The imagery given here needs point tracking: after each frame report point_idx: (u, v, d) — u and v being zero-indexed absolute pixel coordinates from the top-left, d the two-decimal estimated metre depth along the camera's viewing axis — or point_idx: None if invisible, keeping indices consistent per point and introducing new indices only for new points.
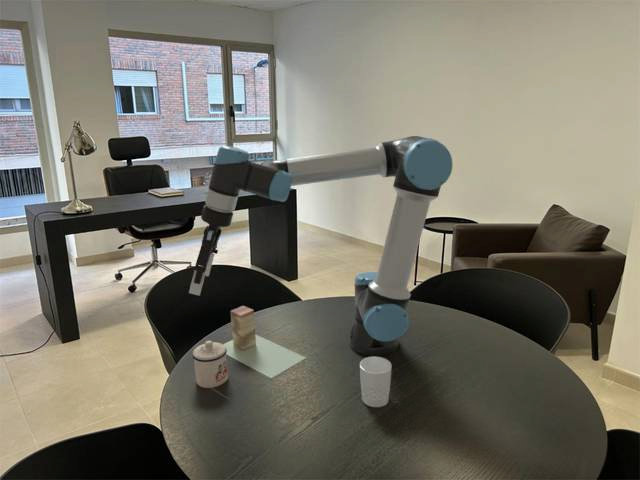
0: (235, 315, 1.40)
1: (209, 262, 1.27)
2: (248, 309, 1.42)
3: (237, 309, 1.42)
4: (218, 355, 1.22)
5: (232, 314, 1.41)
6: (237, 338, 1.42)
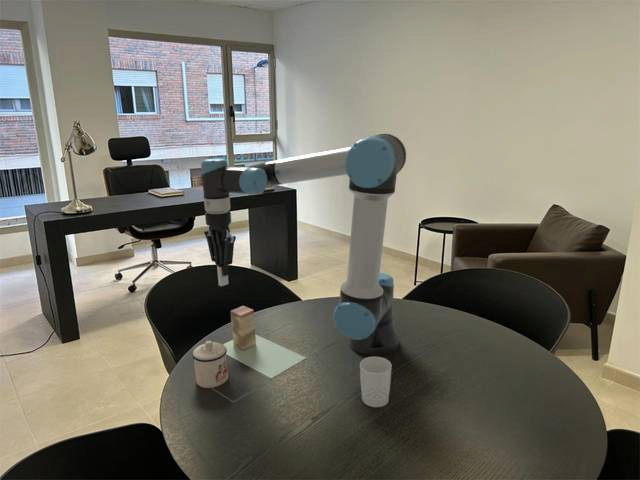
0: (235, 315, 1.40)
1: None
2: (248, 309, 1.42)
3: (237, 309, 1.42)
4: (218, 355, 1.22)
5: (232, 314, 1.41)
6: (237, 338, 1.42)
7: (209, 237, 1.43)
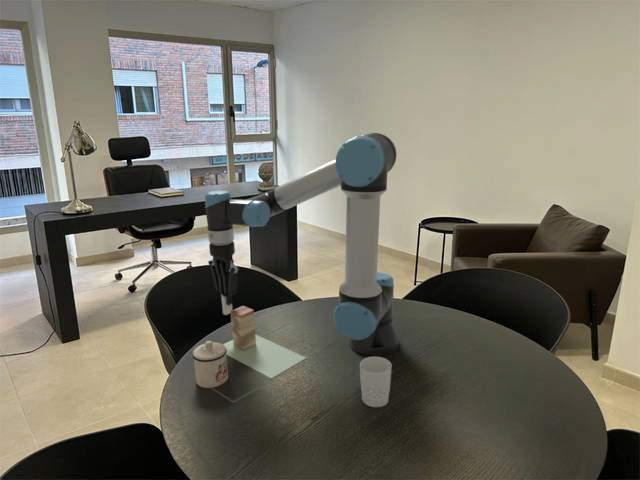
0: (235, 315, 1.40)
1: None
2: (248, 309, 1.42)
3: (237, 309, 1.42)
4: (218, 355, 1.22)
5: (232, 314, 1.41)
6: (237, 338, 1.42)
7: (213, 267, 1.45)
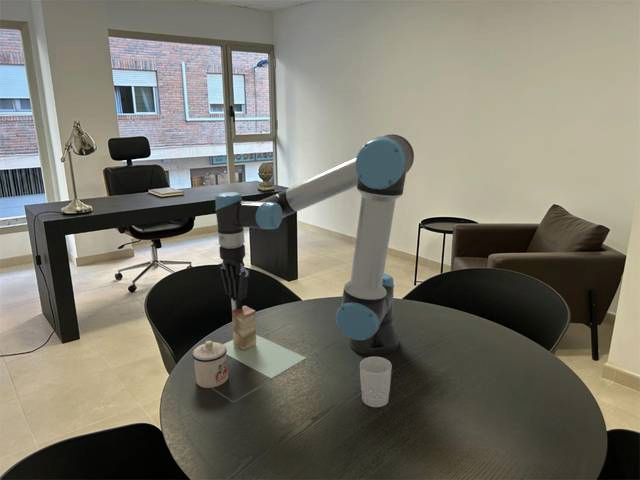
0: (236, 315, 1.40)
1: None
2: (250, 310, 1.41)
3: (239, 309, 1.42)
4: (218, 355, 1.22)
5: (234, 314, 1.40)
6: (237, 338, 1.42)
7: (223, 270, 1.42)
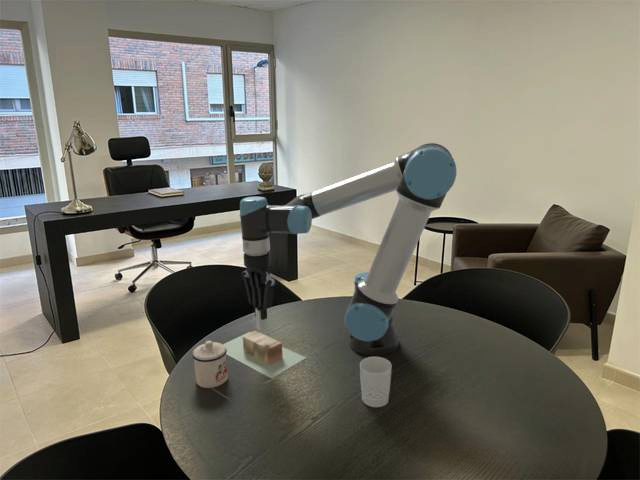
0: (267, 355, 1.33)
1: None
2: (280, 354, 1.36)
3: (275, 348, 1.34)
4: (218, 355, 1.22)
5: (267, 351, 1.33)
6: (250, 346, 1.38)
7: (246, 278, 1.35)
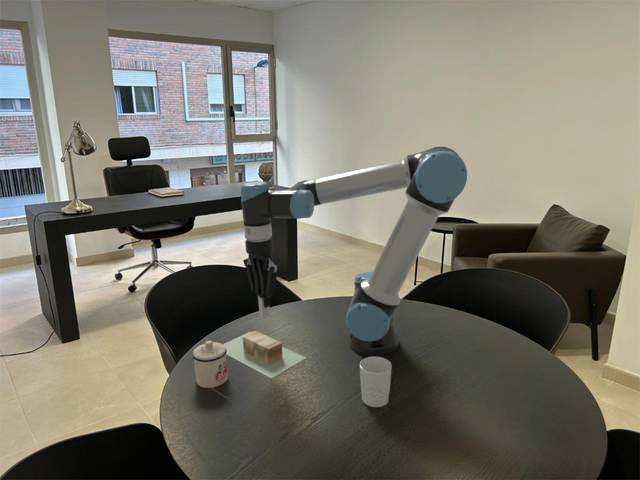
0: (267, 355, 1.33)
1: None
2: (280, 354, 1.36)
3: (275, 348, 1.34)
4: (218, 355, 1.22)
5: (267, 351, 1.33)
6: (250, 346, 1.38)
7: (249, 266, 1.33)
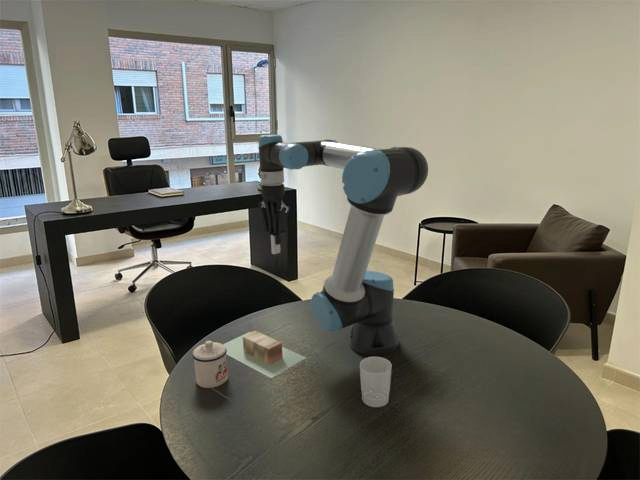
0: (267, 355, 1.33)
1: None
2: (280, 354, 1.36)
3: (275, 348, 1.34)
4: (218, 355, 1.22)
5: (267, 351, 1.33)
6: (250, 346, 1.38)
7: (263, 209, 1.54)
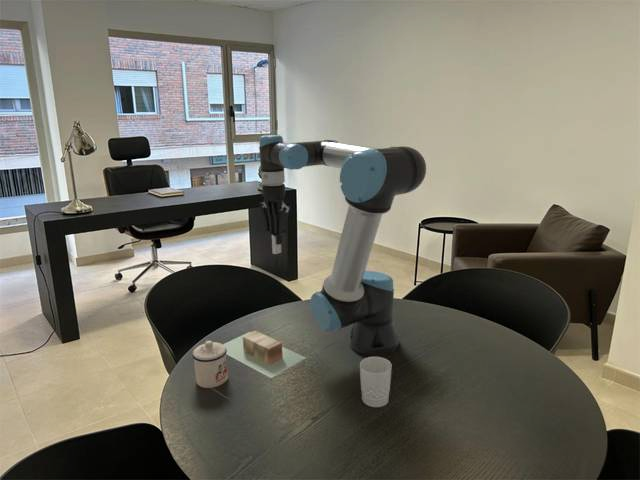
0: (267, 355, 1.33)
1: None
2: (280, 354, 1.36)
3: (275, 348, 1.34)
4: (218, 355, 1.22)
5: (267, 351, 1.33)
6: (250, 346, 1.38)
7: (264, 209, 1.55)
